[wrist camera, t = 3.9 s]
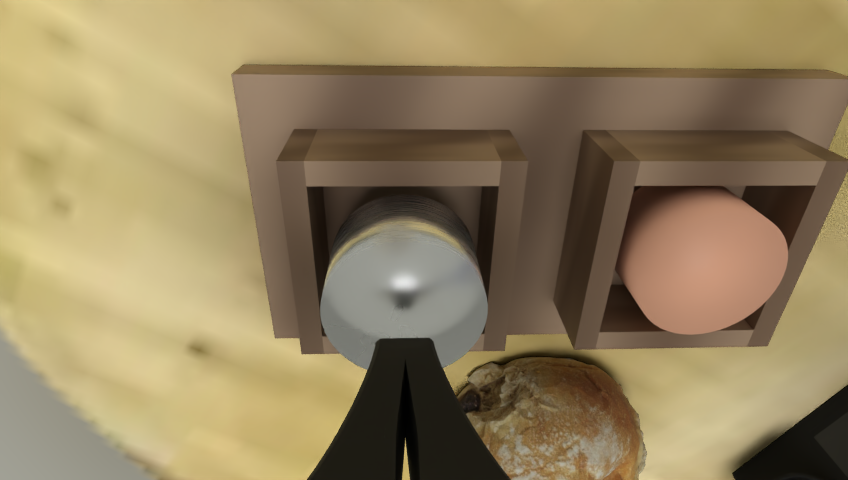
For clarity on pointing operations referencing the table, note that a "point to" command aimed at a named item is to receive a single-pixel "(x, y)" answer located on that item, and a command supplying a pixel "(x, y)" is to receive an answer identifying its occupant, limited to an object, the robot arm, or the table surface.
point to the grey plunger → (403, 280)
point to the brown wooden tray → (532, 178)
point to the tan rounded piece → (698, 257)
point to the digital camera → (807, 448)
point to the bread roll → (555, 420)
